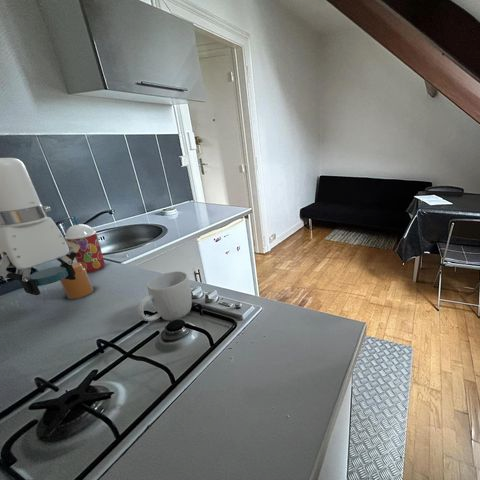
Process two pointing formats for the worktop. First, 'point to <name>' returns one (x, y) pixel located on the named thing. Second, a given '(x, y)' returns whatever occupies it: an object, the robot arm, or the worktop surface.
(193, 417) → the worktop surface
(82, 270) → the jam jar
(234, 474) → the worktop surface
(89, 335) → the worktop surface
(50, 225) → the robot arm
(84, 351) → the worktop surface
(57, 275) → the jar lid
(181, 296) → the mug
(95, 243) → the smoothie
